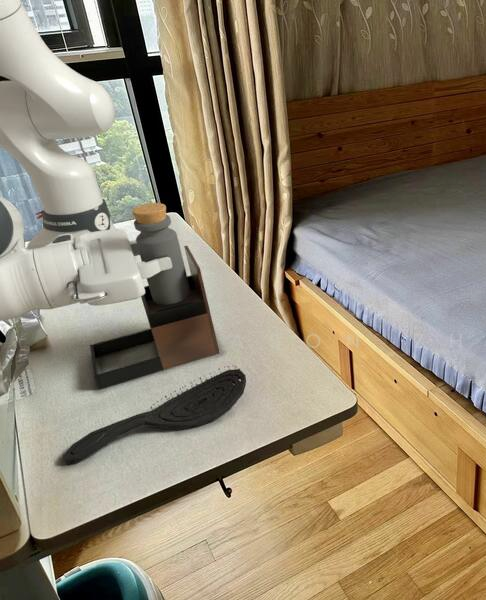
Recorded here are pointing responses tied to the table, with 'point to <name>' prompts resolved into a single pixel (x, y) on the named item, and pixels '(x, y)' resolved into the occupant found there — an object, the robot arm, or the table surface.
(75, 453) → the hairbrush
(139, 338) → the bottle rack
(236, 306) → the table surface
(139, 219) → the bottle
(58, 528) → the table surface
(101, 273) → the robot arm
